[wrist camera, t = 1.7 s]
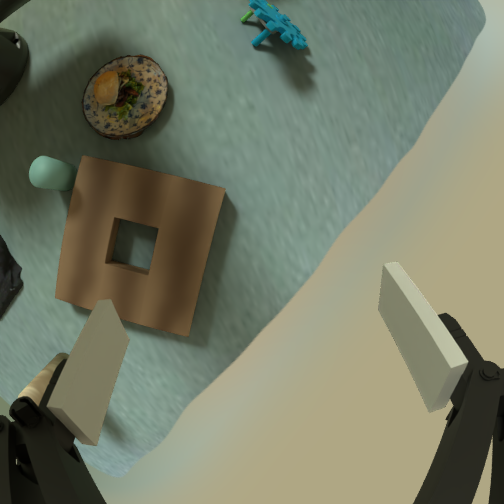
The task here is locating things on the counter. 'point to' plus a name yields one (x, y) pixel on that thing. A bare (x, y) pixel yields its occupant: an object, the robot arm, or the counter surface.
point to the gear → (274, 24)
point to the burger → (125, 97)
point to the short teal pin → (52, 174)
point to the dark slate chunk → (8, 277)
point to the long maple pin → (42, 379)
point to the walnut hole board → (165, 252)
